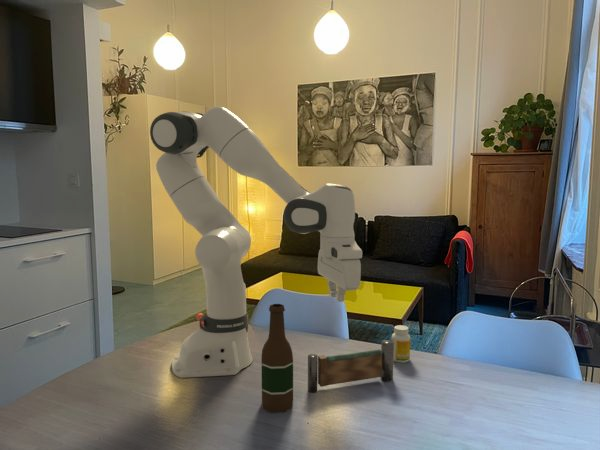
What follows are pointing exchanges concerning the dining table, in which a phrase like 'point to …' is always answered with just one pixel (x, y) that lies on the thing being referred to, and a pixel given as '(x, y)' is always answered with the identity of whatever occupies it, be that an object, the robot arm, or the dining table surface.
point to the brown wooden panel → (349, 367)
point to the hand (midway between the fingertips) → (336, 298)
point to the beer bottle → (277, 365)
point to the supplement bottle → (401, 344)
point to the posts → (386, 365)
